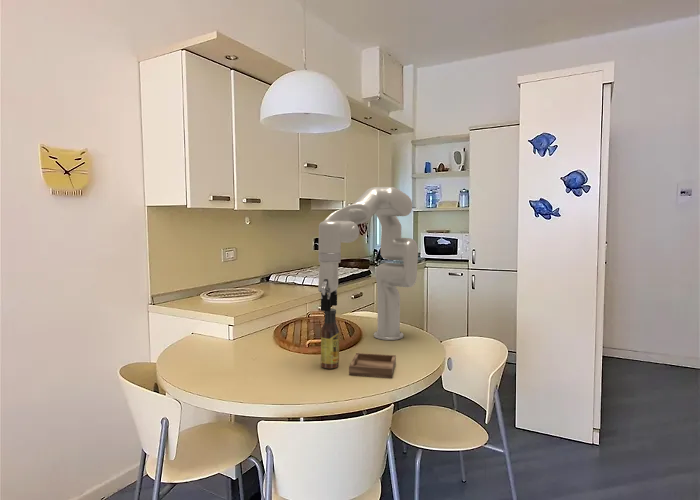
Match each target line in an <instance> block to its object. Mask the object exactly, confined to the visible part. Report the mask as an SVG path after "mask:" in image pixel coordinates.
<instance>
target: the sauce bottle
mask: <svg viewBox="0 0 700 500" xmlns="http://www.w3.org/2000/svg"><path fill="white" fill-rule="evenodd" d="M323 314H324V323H323V325H322V327H321V330H320V332H321V333H320V334H321V336H320V363H321V364H320V365H321V367H322V368H323V369H326V370H327V369H329V370H331V369H335V368H338V367H339V363H340V330H339V327H338V325H337V320H336V314H337V310H336V308H331V310H330V311H323Z"/></svg>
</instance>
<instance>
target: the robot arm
mask: <svg viewBox="0 0 700 500" xmlns="http://www.w3.org/2000/svg"><path fill="white" fill-rule="evenodd" d="M412 210H413V201H412V199H411V197H410V196H409V195H407V194H406V193H405V192H403V191H402V190H400V189H398V188H397V187H393V186H374V187H370V188H368V189H366V190H365V191H364V192H363V193H362V194H361V195H360V196H359V197H358V198H357V199H356V200H355V201H354V203H351V204H349V205H347V206H344V207H342V208H340V209H338V210H335V211H333V212H331V214H329V215H328V216H327V217H326V218H325V219H324V220H323V221H321V222H320V223H319V224H318V264H319V268H318V269H319V271H318V292H319V293H320V294H321V296H320V311H321V312H324V311H330V310H331V309H332V308H331V306H338V288H339V264H340V263H341V260H342V258H341V257H342V253H341V252H342V251H341V249H342V243H346V244H347V243H353V242H355V241H357V239H359V236H360V228H359V226H358V225H360V224H364V223H367V222H369V220H371V218H372V217H373V216H374V215H375V216H376V217H377V219H378V221H379V223H380V232H381V233H380V256H381V257H382V258H383V259H384V260H389V261H402V262H403V263H395V262H394V263H393V262H383V263H381V264H379V265H378V266H377V267H376V268H375V280H376V287H377V331H374V333H373V337H374V338H376V339H378V340H381V341H382V340H383V341H398V340H401V339H403V338H404V333H403V332H401V331H400V328H401V326H400V325H401V317H400V316H401V295H400V292H399V290H398V288H397V287H400V288H401V287H402V288H412V287H414V285H415V284H416V282H417V277H418V260H419V259H418V258H419V257H418V256H419V247H418V243H417V242H416V241H415V239H413V238H409V237H402V225H401V221H400V220H399V218H398V217H407V216H409V215H410V213H412Z"/></svg>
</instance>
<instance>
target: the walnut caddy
mask: <svg viewBox="0 0 700 500" xmlns="http://www.w3.org/2000/svg"><path fill="white" fill-rule="evenodd" d="M396 357H397V356H396V354H395V355H394V354H377V353H364V352H356V353H355V355H354V357H353V358H352V360H351V362H350V363H349V366H348V375H349V376H356V377H357V376H359V377H369V378H371V377H372V378H380V379H381V378H382V379H383V378H384V379H393V376H394V372H395V368H396V363H397V362H396V361H397V360H396V359H397V358H396Z"/></svg>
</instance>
